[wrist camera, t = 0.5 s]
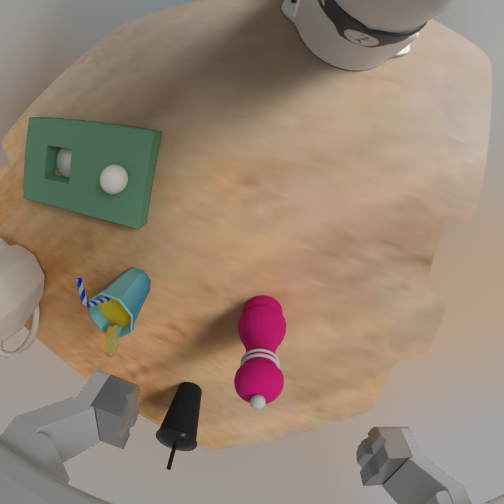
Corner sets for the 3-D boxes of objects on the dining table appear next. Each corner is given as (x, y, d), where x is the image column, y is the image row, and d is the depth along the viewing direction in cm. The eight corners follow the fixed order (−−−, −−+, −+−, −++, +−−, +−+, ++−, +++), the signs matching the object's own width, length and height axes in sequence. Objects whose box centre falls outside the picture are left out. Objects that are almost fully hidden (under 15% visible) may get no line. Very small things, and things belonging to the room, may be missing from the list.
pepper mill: (281, 331, 51) (282, 427, 32) (238, 325, 51) (223, 420, 32) (288, 295, 48) (296, 391, 30) (243, 289, 48) (227, 383, 30)
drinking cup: (193, 405, 60) (174, 480, 42) (166, 386, 59) (139, 462, 40) (215, 391, 58) (199, 473, 40) (186, 372, 56) (161, 455, 38)
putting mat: (40, 116, 38) (29, 117, 35) (162, 131, 39) (154, 132, 36) (33, 193, 44) (23, 198, 41) (146, 222, 45) (138, 229, 42)
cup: (104, 240, 46) (53, 283, 32) (144, 235, 45) (98, 279, 32) (128, 312, 52) (92, 366, 38) (166, 311, 51) (136, 370, 37)
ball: (110, 160, 38) (96, 164, 34) (134, 165, 38) (121, 169, 35) (107, 187, 40) (93, 193, 36) (130, 193, 40) (118, 199, 36)
